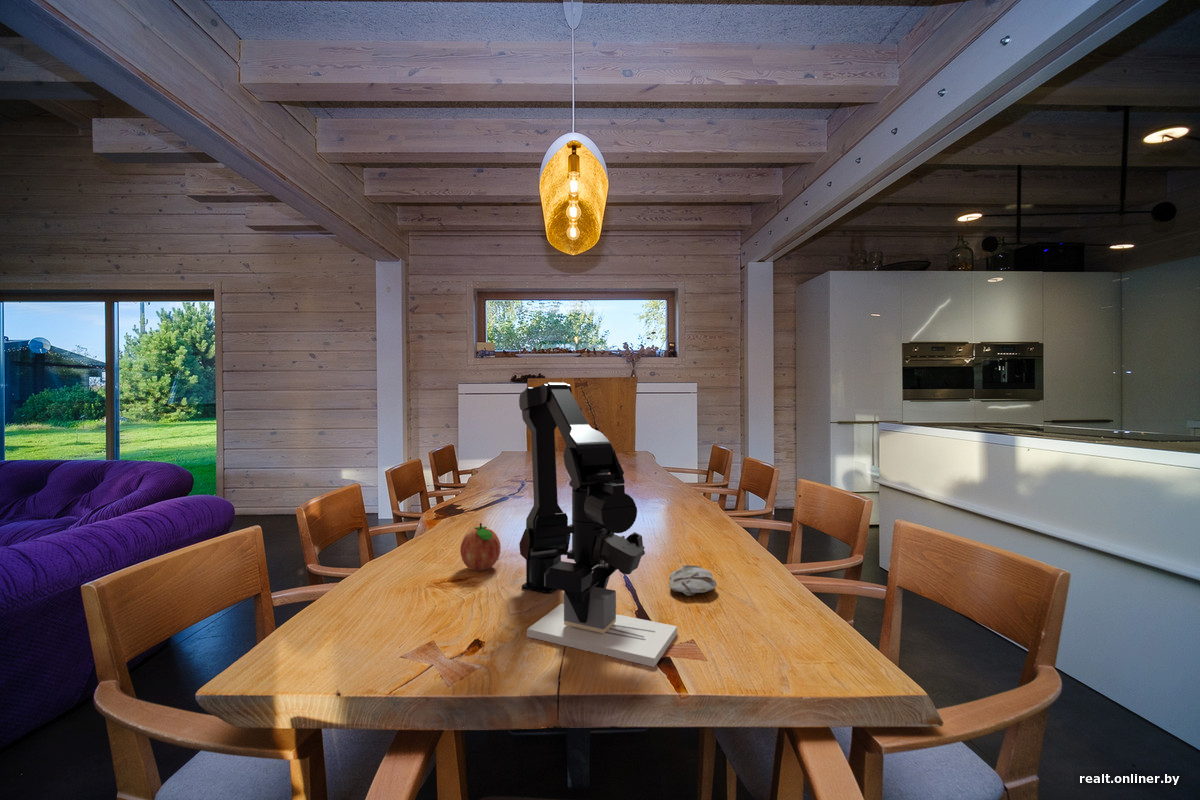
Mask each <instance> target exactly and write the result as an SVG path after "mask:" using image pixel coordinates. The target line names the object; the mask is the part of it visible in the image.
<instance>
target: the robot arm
mask: <svg viewBox="0 0 1200 800" xmlns="http://www.w3.org/2000/svg"><path fill="white" fill-rule="evenodd" d="M572 391H573V390H572V386H571V385H570V384H569V383H566V382H546V383H543V384H541V385H539V386H535V387H526V388H525V390H524V391H523V390H522V392H520V395H519V400H518V403H519V406H518V407H519V410H520V411H521V417H522V420H523V422H524V423H525V425H526V427H527V428H528V429H529V431H530V434H531V435H530V436H531V437H530V439H531V441H530V442H531V464H532V466H531V467H532V485H533V486H532V487H533V488H532V489H533V506H532V508H531V510H530V511H529V513H528V515H527V517H526V519H525V529H524V531H523V534H522V536H521V539H520V541H519V554H520V556H522V558H523V559H525V562H526V563H525V565H526V566H525V568H526V570H525V572H526V573H525V575H526V577H525V579H526V581H525V583H523V584H522V585H521V589H525V590H531V591H536V592H539V593H540V592H541V593H546V594H551V593H552V592H554V591H555V590H557V591H558V590H559V591H563V593H565V594H566V596H567V597H568V599H569V601H570V603H571V605H572V607H573V609H574V611H575V614H576V616H577V618H578V620H579V622H581V623H586V622H587V617H588V609H589V600H590V592H591V590H592V589H593V588H594V587H599V588H604V589H607V587H608V584H609V583H608V582H609V580H610V577H611V576H612V575H613V574H614V573H615V572H616V571H617V570H618V571H619V572H620V573H622V574H623V575H631V574H632V573H633V571H635V570H637V569H638V567H639V564H640V562H641V559H642V557H643V556H644V555H645V554H646V551H645V548H646V547H645V546H644V543H643V536H642V535H641V534H639V533H637V531H636V532H635V531H634V532H632V533H630V534H629V535H628V536H627V537H626V536H624V535H621V536H619V535H617V534H623V533H625V532H627V531H628V530H629V529H631V528H632V527H633V525H635V522H636V519H637V516H638V507H637V505H636V503H635V501H634V499H633V497H631V495H629V494H627V493H626V492H625V491H626V490H625V489H626V488H625V487H626V485H625V482H626V481H625V477H624V474H625V471H624V470H623V467H622V466H621V464H620V461H619V458H618V456H617V453H616V450H615V448H614V447H613V445H612V442H610V441H609V439H608V438H607V437H606V436H605V434H604V433H602V432H601V431H599V430H596V429H595V428H592V427H591V426H590V424H589V422H588V420H587V418H586V417H585V415H584V413H583V411H582V410H581V408H580V406H579V405H578V402H577V401H576V399H575V397H574V396H573V393H572ZM557 428H558V431H559V432H560V435H561V436H562V439H563V441H564V444H565V447H564V450H563V454H562V457H563V462H564V467H565V470H566V472H567V473H568V476H569V478H570V481H568V485H569V486H570V487H571V505H572V506H571V524H569V523H568V522H569V521H568V519H569V517H568V515H567V513H566V512H564V511H563V510H562V508H561V506H560V505H559V503H558V502H559V501H558V500H559V499H558V480H557V478H558V477H557V476H558V475H557V460H556V458H557V457H556V434H555V432H556V429H557ZM625 537H626V538H625ZM570 540H571V549H570V550H569V546H570ZM562 556H566V559H568V560H573V561H574V562H569V561H562Z"/></svg>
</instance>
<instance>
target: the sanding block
mask: <svg viewBox="0 0 1200 800" xmlns="http://www.w3.org/2000/svg"><path fill="white" fill-rule="evenodd" d="M563 604H564V625H568V626H573V627H577V628H582V629H586V630H591V631H595V632H600V633H605V632H606V631H607V630H608V629H609V628H610V627H611V626H612V625H613V624H614V623H615V622H616V614H617V591H616V590H615V589H609V588H606V589H604V588H599V587H594V588H593V589H592V590H591V592H590V600H589V609H588V617H587V622H586V623H581V622H579V620H578V618H577V616H576V614H575V611H574V609H573V607H572V605H571V603H570V601H569V599H568V597H567V596H566V594H565V592H563Z"/></svg>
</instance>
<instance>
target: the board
mask: <svg viewBox="0 0 1200 800" xmlns="http://www.w3.org/2000/svg"><path fill="white" fill-rule="evenodd" d="M526 635H527V638H530V639H531V638H532V639H534V640H535V639H536V640H540V641H545V642H549V643H552V644H557V645H559V646H560V645H561V646H564V647H569V648H572V649H577V650H582V651H586V652H589V651H590V652H591V653H594V654H599V655H602V654H603V655H602V656H606V655H608V656H607V657H610V656H611V658H614V657H615V659H620V660H623V661H628V662H632V663H636V664H640V665H645V666H647V667H653V668H655V667H656V666H657V664H658V662H659V661H660V659H661V658H662V656H664V654H665V653H666V650H667V649H668V648H669V646H670V645H671V643H672V642H673V641H674V640H675V638H676V636H677V635H678V626H676V625H673V624H668V623H663V622H657V621H653V620H648V619H642V618H637V617H633V616H628V615H623V614H617V613H616V622H615V623H614V624H613V625H612V626H611V627H610V628H609V629H608V630H607V631H606V632H605V633H600V632H595V631H591V630H586V629H582V628H577V627H573V626H568V625H564V602H563V603H561V604H559V605H557V606H556V607H555V608H554V609H552V610H551V611H549V612H548V613H547V614H545V615H544V616H543V617H541V618H540V619H538V621H536V622H535V623H533V624H532V625H530V626H529V627H527V629H526Z"/></svg>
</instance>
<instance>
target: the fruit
mask: <svg viewBox="0 0 1200 800" xmlns="http://www.w3.org/2000/svg"><path fill="white" fill-rule="evenodd" d="M501 545H502V544H501V542H500V538H499V537H498V535H497V534H496V533H495V531H493V530H492V529H489V528H488V526H483V523H482V522H480V523H479V526H476V527H474V528H473V529H471V530H470V531H469V532H468V533H466V534H465V536H464V537H463V539H462V541H461V544H460V551H459V552H460V558H461V560H462V562H463V564H464V565H465V566H466V567H467V568H468V569H469V570H472V571H486V570H489V569H491V568H492V567H494V566H495V564H496V563H497V562H498V559H499V557H500V556H501Z"/></svg>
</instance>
